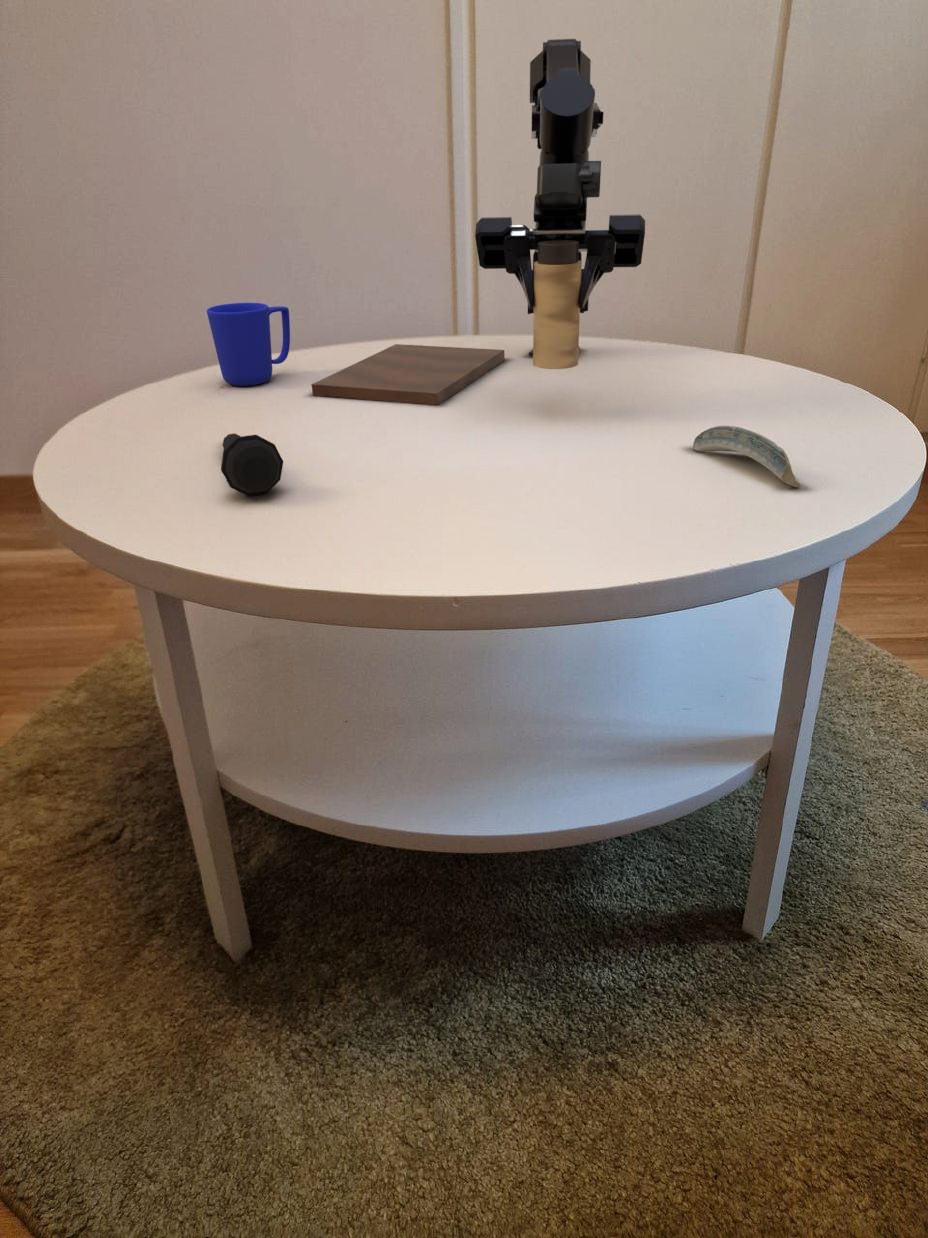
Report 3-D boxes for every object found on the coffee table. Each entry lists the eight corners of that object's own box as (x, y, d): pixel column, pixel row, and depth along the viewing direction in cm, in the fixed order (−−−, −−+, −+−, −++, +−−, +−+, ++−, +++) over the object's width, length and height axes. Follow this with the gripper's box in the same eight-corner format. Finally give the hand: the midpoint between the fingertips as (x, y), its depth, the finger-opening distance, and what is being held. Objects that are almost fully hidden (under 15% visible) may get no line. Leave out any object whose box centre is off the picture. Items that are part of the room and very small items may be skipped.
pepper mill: (552, 356, 102) (554, 238, 96) (587, 362, 99) (592, 241, 92) (523, 364, 99) (524, 243, 92) (558, 371, 96) (562, 246, 89)
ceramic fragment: (690, 448, 89) (694, 411, 87) (731, 441, 91) (736, 405, 89) (781, 493, 78) (788, 453, 76) (826, 484, 79) (834, 444, 77)
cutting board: (396, 353, 133) (395, 343, 133) (504, 359, 128) (504, 349, 127) (312, 395, 112) (311, 384, 112) (438, 405, 107) (437, 393, 106)
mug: (311, 375, 122) (303, 301, 118) (240, 392, 115) (228, 314, 110) (277, 367, 127) (268, 296, 123) (207, 383, 120) (194, 308, 115)
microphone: (219, 472, 95) (244, 512, 78) (193, 425, 93) (213, 455, 75) (262, 450, 96) (298, 485, 79) (238, 403, 94) (269, 428, 76)
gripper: (475, 135, 92) (464, 259, 88) (651, 129, 89) (648, 256, 85) (484, 209, 103) (475, 323, 99) (642, 206, 100) (639, 322, 96)
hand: (555, 306), depth 94 cm, fingers closed on pepper mill, 5 cm apart
